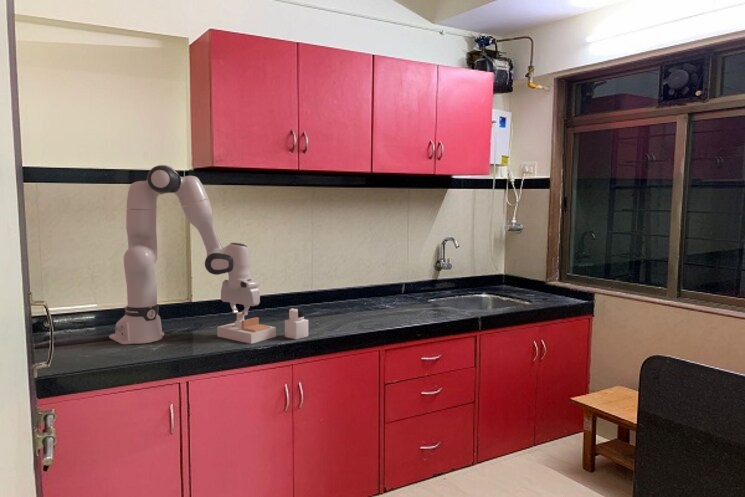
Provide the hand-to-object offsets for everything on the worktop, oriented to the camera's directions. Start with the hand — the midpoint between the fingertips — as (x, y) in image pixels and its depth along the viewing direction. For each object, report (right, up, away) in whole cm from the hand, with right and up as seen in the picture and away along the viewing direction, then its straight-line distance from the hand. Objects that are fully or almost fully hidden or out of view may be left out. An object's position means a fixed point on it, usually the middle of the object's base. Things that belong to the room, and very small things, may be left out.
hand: (240, 314), depth 233 cm
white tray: (+3, -9, -1) cm, 10 cm away
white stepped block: (+24, -10, -1) cm, 26 cm away
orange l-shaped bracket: (+8, -5, -5) cm, 11 cm away
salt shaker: (0, -9, +1) cm, 9 cm away
